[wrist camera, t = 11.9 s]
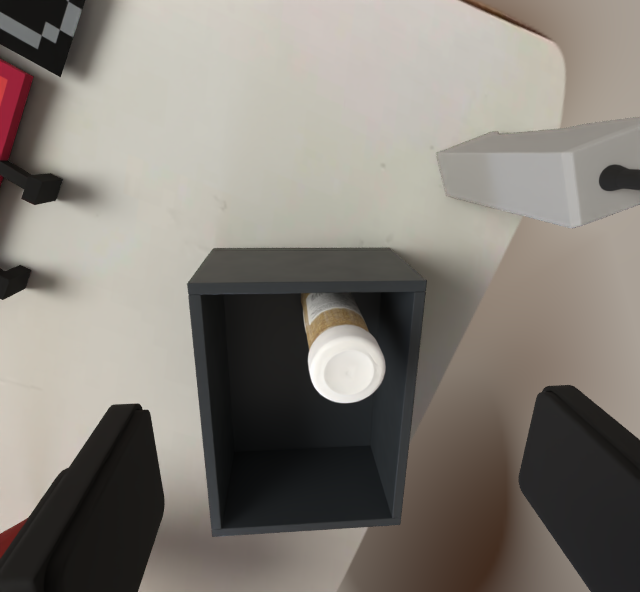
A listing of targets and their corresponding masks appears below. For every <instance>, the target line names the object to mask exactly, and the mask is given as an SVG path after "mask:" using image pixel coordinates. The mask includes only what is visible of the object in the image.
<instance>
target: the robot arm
mask: <svg viewBox="0 0 640 592" xmlns="http://www.w3.org/2000/svg"><path fill="white" fill-rule="evenodd" d="M519 485H520V488H521V491H522V493H523V494H524V496H525V497H526V499H527V500H528V502H529V503H530V504H531V506H532V507H533V509H534V510H535V512H536V513H537V514H538V516H539V517H540V519H541V520H542V522H543V523H544V524H545V526H546V528H547V529H548V531H549V532H550V533H551V535H552V536H553V538H554V539H555V541H556V542H557V544H558V545H559V546H560V548H561V549H562V551H563V552H564V554H565V555H566V557H567V558H568V559H569V561H570V562H571V564H572V565H573V567H574V568H575V569H576V571H577V572H578V574H579V575H580V577H581V578H582V580H583V581H584V582H585V584H586V585H587V587H588V588H589V590H590V591H591V592H640V440H639V439H638V438H637V437H635V436H634V435H633V434H632V433H631V432H629V431H628V430H627V429H626V428H624V427H623V426H622V425H621V424H619V423H618V422H617V421H616V420H615V419H613V418H612V417H611V416H610V415H608V414H607V413H606V412H605V411H604V410H603V409H601V408H600V407H599V406H597V405H596V404H595V403H594V402H593V401H591V400H590V399H589V398H588V397H587V396H585V395H584V394H583V393H582V392H581V391H579V390H578V389H577V388H575V387H574V386H571V385H561V386H547V387H545V388H544V389H543V391H542V392H541V393H539V394H538V395H537V398H536V402H535V407H534V411H533V415H532V420H531V424H530V429H529V433H528V438H527V442H526V447H525V451H524V456H523V460H522V464H521V469H520V473H519ZM163 512H164V493H163V487H162V481H161V475H160V469H159V463H158V457H157V451H156V445H155V439H154V433H153V427H152V421H151V415H150V412H149V410H142V407H141V405H140V404H118V405H112V406H111V407H110V408H109V409H108V410H107V412H106V413H105V415H104V416H103V418H102V419H101V421H100V422H99V424H98V425H97V427H96V428H95V430H94V431H93V433H92V434H91V436H90V437H89V439H88V440H87V442H86V443H85V445H84V446H83V448H82V449H81V450H80V452H79V453H78V455H77V456H76V458H75V459H74V461H73V462H72V464H71V465H70V467H69V468H67V469H65V470H63V471H62V472H61V473H60V474H59V475H58V476H57V477H56V479H55V480H54V482H53V483H52V485H51V486H50V487H49V489H48V490H47V492H46V493H45V495H44V496H43V498H42V499H41V500H40V502H39V503H38V505H37V506H36V508H35V509H34V511H33V512H32V513H31V515H30V516H29V518H28V519H27V521H26V522H25V524H24V525H23V526H22V528H21V529H20V531H19V532H18V534H17V535H16V537H15V538H14V539H13V541H12V542H11V544H10V545H9V547H8V548H7V550H6V551H5V552H4V554H3V555H2V557H1V558H0V592H138V590H139V586H140V583H141V580H142V577H143V574H144V571H145V568H146V565H147V562H148V559H149V556H150V553H151V550H152V547H153V544H154V541H155V538H156V535H157V532H158V529H159V526H160V523H161V520H162V517H163Z"/></svg>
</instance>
